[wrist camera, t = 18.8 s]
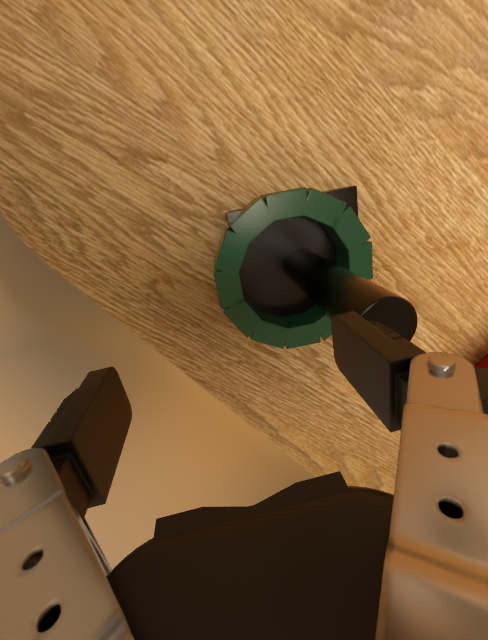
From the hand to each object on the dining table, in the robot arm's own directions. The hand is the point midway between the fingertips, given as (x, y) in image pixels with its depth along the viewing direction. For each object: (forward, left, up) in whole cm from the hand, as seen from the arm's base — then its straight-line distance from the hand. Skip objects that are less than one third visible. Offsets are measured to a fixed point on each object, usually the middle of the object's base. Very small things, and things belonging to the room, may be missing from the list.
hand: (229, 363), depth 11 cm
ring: (+5, 0, -12) cm, 13 cm away
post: (+6, 0, -13) cm, 14 cm away
